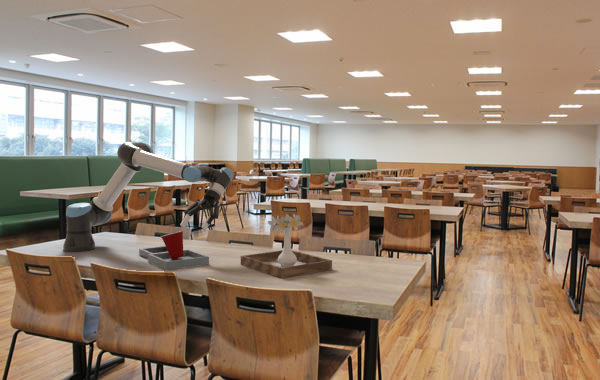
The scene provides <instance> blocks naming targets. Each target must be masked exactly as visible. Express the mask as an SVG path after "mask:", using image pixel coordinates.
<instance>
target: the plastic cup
mask: <svg viewBox="0 0 600 380" xmlns="http://www.w3.org/2000/svg"><path fill="white" fill-rule="evenodd" d="M183 233H184V230H179V231H175V232H171V233H167V234H164V235H161V236H160V238H161V240H162V241H163V243H164V246H166V248H167V251H168V252H169V255H170V257H171V259H176V258H180V257H183V255H184V253H183V250H184V239H183V238H184V237H183Z"/></svg>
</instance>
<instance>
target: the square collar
mask: <svg viewBox="0 0 600 380" xmlns="http://www.w3.org/2000/svg"><path fill="white" fill-rule="evenodd" d="M163 252H168V251H167V248H166V246H165V245H164V246H154V247H145V248H144V247H143V248H139V250H138V254H139V256H140V257H143V258H145V259H147V260H148V254H155V253H163Z"/></svg>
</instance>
